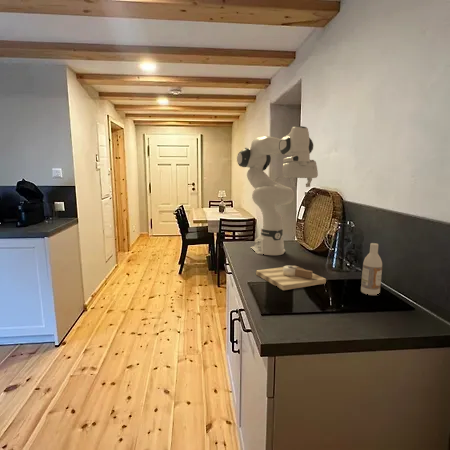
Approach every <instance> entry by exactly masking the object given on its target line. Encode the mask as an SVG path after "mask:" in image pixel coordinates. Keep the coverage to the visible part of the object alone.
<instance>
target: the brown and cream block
mask: <svg viewBox="0 0 450 450" xmlns="http://www.w3.org/2000/svg"><path fill="white" fill-rule="evenodd" d="M282 267H283V274H284V275H287V276H299V277H304V278H309V279H311V278H312V273H313V270H309V269H305V270H304V268H302V269H299V268H297V267H295V266H294V265H290V264H289V265H284V266H282Z"/></svg>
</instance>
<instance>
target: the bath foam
mask: <svg viewBox="0 0 450 450" xmlns="http://www.w3.org/2000/svg"><path fill="white" fill-rule="evenodd" d="M369 245H370V247H369V253H367V255H366V256H365V257H364V259H363V263H362V271H361V272H362V273H361V283H360V284H361V286H360V292H361V293H362V294H365V295H367V294H368V296H378V295H377V294H379V293H380V294H381V287H382V286H381V285H382V284H381V283H382V275H383V274H382V272H383V261H382V258H381V256H380V255H379V243H375V242H371V243H370V244H369ZM380 294H379V295H380Z"/></svg>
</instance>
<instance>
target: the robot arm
mask: <svg viewBox="0 0 450 450" xmlns="http://www.w3.org/2000/svg"><path fill="white" fill-rule="evenodd" d="M309 132H310V131H309V128H308V127H307V126H300V125H296V126H295V125H294V126H292V127H291V130H290V132H289V133H288V134H287V135H285V136H283V137H282V138H278V137H275V136H274V137H273V136H270V135H261V136H258V137H256V138H254V139H252V142H251V145H250V148H248V147H244V149H242V150H240V151H239V152H238V153H237V155H236V162H237V165H238V166H239V167H241V168H249V169H248V171H247V172H246V178H247V180H248V182H249V183H250V185H251V186H252V187H253V191H252V201H253V202H254V204H255V205H256V206H257V207H258V208H259V209H260V211H261V214H262V228H260V235H259V236H257V237H256V238H255V240H254V246H253V245H252V246H250V248H252V249H253V250H254V251H255V252H254V251H253V250H252V249H251V250H252V251H253V252H254V253H256V254H257V255H263V254H264V255H265V256H281V255H284V253H285V252H286V249H285V243H284V242H285V240H284V237H283V235H284V234H283V233H284V231H283V216H282V214H281V213H280V212H278V211H276V206H285V205H289V204H292V202H293V201H294V200H295V192H294V190H293V188H296V187H297V186H296V185H297V183H295V181H294V180H295V179H306V181H307V182H306V183H305V187H306V188H310V187H311V184H312V181H313V179H317V178H318V176H319V172H318V170H319V169H318V166H317V162H316V160H315V159H311V157H310V154H311V153H312V151H313V150H314V142H313V140H312V139H311V138H310V133H309ZM277 154H281V155H285V156H287V157H284V158H283V159H282V162H283V164H282V177H283V178H285V179H286V178H288V179H289V182H290V187H289V186H286V185H283V184H281V183H279V182H278V181H276V180H274V179H272V178H271V177H270V176H269V175H268V174H267V173H266V172H265V171H266V169H267V168H269V166H270V164H271V161H272V156H271V155H277Z"/></svg>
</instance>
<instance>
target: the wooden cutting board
mask: <svg viewBox="0 0 450 450" xmlns="http://www.w3.org/2000/svg"><path fill="white" fill-rule="evenodd" d="M293 266H295V267H297V268H299V269H304V268H303V267H300V266H297V265H293ZM283 267H284V266H280V267H279V266H278V267H273V268H266V269H265V268H264V269H258V270H255V275H256V276H258V277H259V278H262V279H263V280H265V281H266V282H268V283H269V284H271V285H273V286H275V287H276V286H277V288H279V290H282V291H288V290H293V289H299V288H306V287H311V286H317V285H324V284H325V285H326V282H327V278H325V277H323V276H320V275H318V274H316V273H312V278H311V279H309V278H304V277H299V276H287V275H284V274H283ZM304 270H306V269H304Z"/></svg>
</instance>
